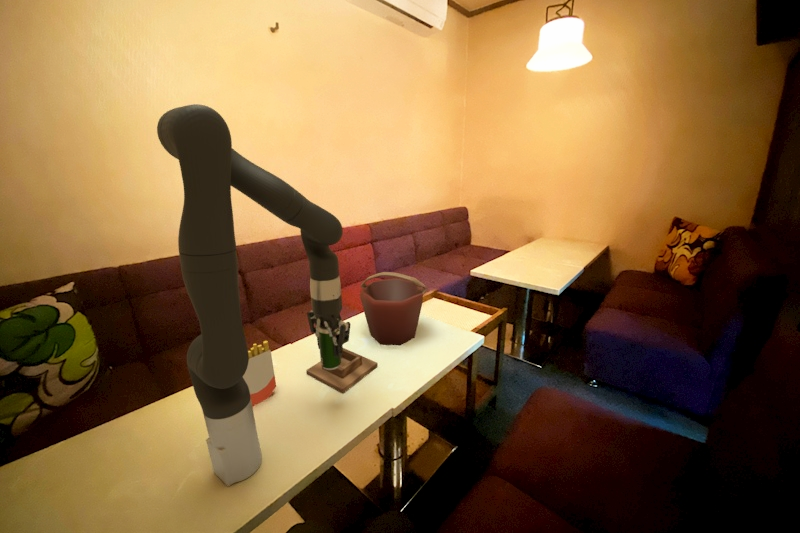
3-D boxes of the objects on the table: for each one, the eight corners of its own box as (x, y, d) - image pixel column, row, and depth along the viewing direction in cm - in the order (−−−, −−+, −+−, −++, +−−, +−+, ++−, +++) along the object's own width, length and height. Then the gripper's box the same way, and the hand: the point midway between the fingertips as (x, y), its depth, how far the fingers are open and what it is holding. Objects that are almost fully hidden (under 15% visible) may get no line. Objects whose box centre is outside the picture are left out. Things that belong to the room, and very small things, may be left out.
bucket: (434, 330, 137) (436, 270, 128) (405, 359, 119) (404, 291, 111) (383, 315, 149) (381, 259, 141) (349, 339, 132) (344, 276, 123)
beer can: (325, 373, 91) (322, 332, 88) (318, 363, 96) (314, 323, 92) (344, 366, 94) (342, 326, 90) (336, 357, 98) (333, 318, 95)
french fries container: (233, 404, 99) (222, 349, 93) (270, 386, 106) (261, 334, 100) (240, 412, 96) (228, 356, 90) (277, 393, 103) (269, 340, 97)
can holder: (342, 393, 103) (341, 380, 101) (306, 374, 112) (305, 362, 110) (377, 366, 115) (377, 354, 114) (342, 351, 124) (341, 339, 122)
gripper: (295, 291, 89) (301, 349, 95) (335, 305, 81) (339, 368, 87) (318, 282, 95) (322, 337, 100) (357, 295, 87) (360, 354, 92)
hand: (330, 351), depth 94 cm, fingers closed on beer can, 5 cm apart
